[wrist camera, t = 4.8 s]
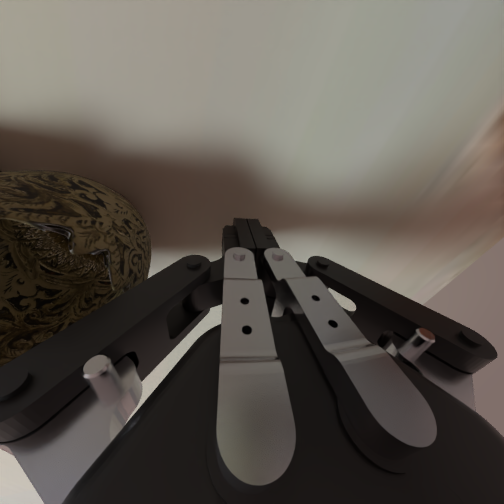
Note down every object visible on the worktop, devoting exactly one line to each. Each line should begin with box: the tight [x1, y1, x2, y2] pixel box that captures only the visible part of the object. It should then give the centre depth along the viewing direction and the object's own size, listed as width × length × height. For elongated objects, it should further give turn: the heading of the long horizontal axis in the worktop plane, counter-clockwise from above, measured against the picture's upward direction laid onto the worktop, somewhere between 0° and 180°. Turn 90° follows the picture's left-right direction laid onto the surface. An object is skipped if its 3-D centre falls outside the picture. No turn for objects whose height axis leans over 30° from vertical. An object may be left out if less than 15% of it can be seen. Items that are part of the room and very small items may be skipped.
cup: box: [0, 171, 151, 367], centre depth 9 cm, size 8×7×8 cm
